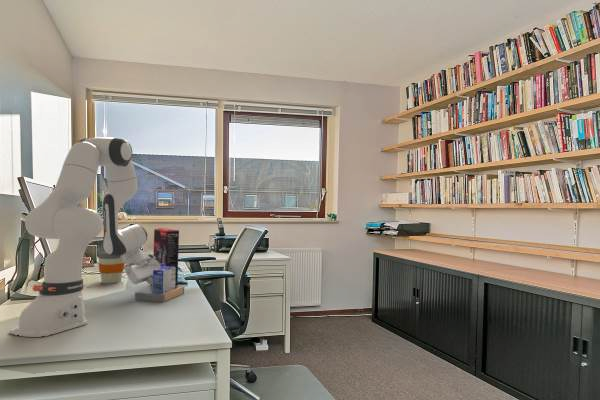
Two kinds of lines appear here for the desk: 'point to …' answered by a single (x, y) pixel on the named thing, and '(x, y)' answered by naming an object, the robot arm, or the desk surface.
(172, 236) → the graphics card box
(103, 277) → the reusable coffee cup
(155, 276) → the ink cartridge box
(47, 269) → the robot arm
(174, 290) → the u-shaped bracket
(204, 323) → the desk surface
